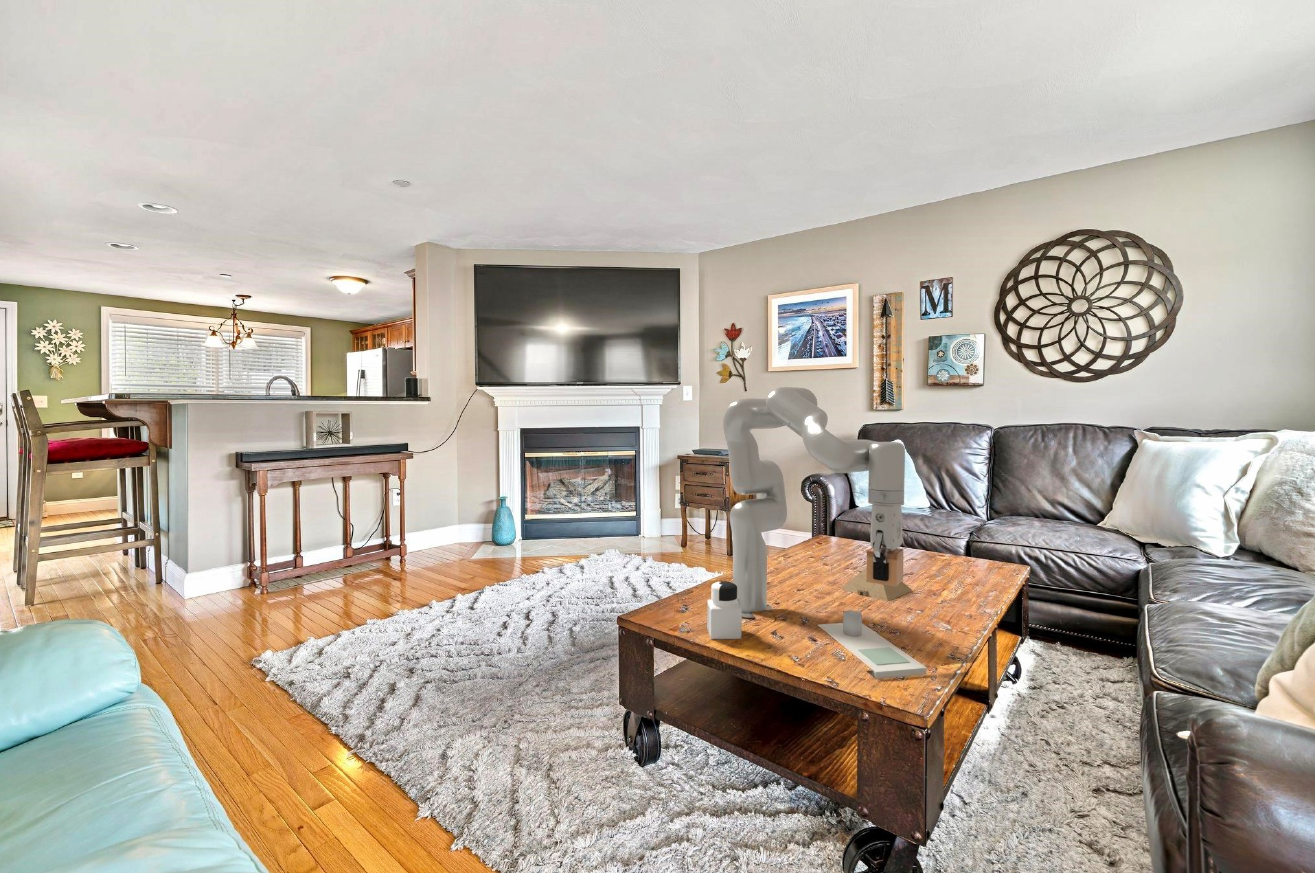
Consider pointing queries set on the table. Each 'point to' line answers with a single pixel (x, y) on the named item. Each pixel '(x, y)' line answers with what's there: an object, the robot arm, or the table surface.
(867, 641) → the post board
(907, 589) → the model pyramid
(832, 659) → the table surface
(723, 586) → the container
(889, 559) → the brown block
